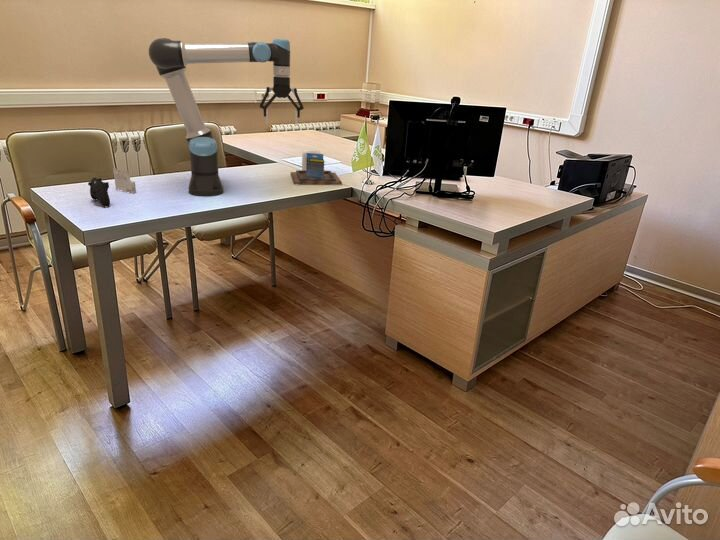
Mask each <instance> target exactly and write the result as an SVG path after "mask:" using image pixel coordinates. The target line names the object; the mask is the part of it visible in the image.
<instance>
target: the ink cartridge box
mask: <svg viewBox="0 0 720 540" xmlns="http://www.w3.org/2000/svg"><path fill="white" fill-rule="evenodd" d="M112 171H113V176H114V185H115V190H116V189H119V190H118V191H120V190H122V191H121V192H124V191H125V192H124V193H127V192H129V193H128V194H131V193H133V194H136V193H137V190H136V181H135V180H131V175H130V171H128V170H124V169H119V168H115V167H112ZM120 172H121V173H120ZM122 173H123V174H122Z"/></svg>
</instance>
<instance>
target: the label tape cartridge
mask: <svg viewBox="0 0 720 540" xmlns="http://www.w3.org/2000/svg"><path fill="white" fill-rule="evenodd" d="M314 155H315V156H318V157H312V156H314ZM324 171H325V158H324V154H323V153H321V154H313V153H307V158H306V177H316V178H323V177H324Z"/></svg>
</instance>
